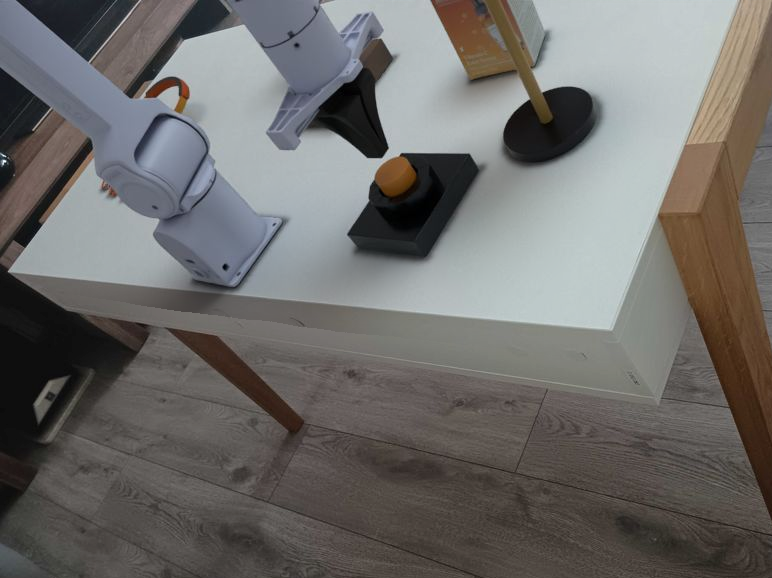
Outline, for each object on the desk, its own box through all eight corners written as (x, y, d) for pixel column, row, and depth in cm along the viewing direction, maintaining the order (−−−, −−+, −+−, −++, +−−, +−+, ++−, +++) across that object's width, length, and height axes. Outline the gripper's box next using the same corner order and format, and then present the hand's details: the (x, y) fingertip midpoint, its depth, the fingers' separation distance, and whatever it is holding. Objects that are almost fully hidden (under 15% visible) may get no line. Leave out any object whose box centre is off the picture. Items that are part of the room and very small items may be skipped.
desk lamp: (575, 168, 67) (456, -96, 50) (486, 166, 73) (352, -70, 56) (618, 90, 70) (520, -181, 53) (529, 94, 76) (416, -148, 59)
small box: (470, 82, 83) (425, -3, 75) (483, 49, 85) (441, -36, 78) (536, 66, 79) (495, -25, 71) (547, 33, 81) (509, -59, 74)
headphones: (158, 212, 104) (221, 89, 107) (124, 193, 100) (190, 65, 103) (104, 201, 115) (163, 89, 118) (72, 183, 111) (133, 68, 114)
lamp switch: (405, 198, 69) (395, 185, 68) (377, 197, 71) (367, 183, 70) (423, 170, 71) (414, 156, 69) (395, 169, 73) (386, 156, 71)
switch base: (426, 257, 69) (405, 228, 66) (358, 249, 74) (335, 221, 71) (479, 169, 73) (461, 138, 70) (411, 168, 78) (392, 139, 75)
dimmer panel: (344, 126, 90) (329, 105, 87) (296, 127, 95) (281, 107, 93) (393, 58, 94) (380, 36, 92) (344, 63, 99) (331, 42, 97)
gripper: (270, 85, 53) (369, 215, 63) (371, -43, 59) (448, 95, 68) (212, 89, 58) (313, 210, 67) (311, -31, 63) (392, 98, 73)
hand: (378, 152), depth 68 cm, fingers closed
